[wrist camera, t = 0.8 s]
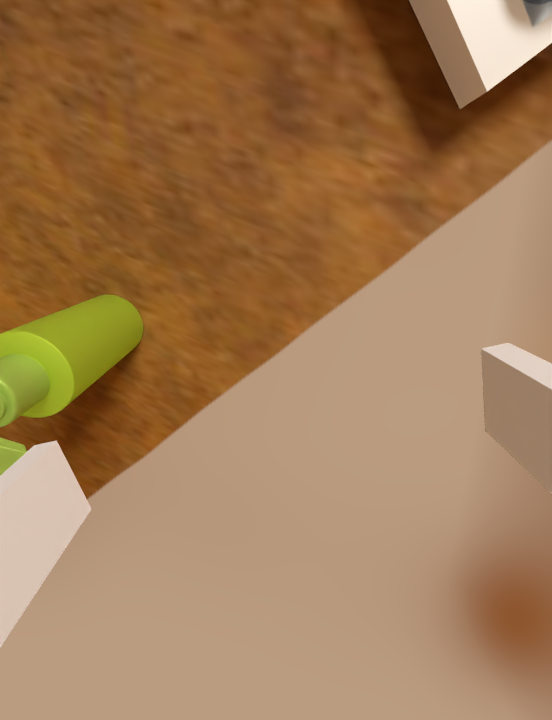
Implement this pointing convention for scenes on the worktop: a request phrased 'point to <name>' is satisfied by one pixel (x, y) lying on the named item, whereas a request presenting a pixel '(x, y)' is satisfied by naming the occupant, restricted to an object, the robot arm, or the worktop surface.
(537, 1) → the blue button
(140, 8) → the worktop surface
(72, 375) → the soap dispenser
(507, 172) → the worktop surface
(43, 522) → the robot arm
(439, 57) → the button panel
